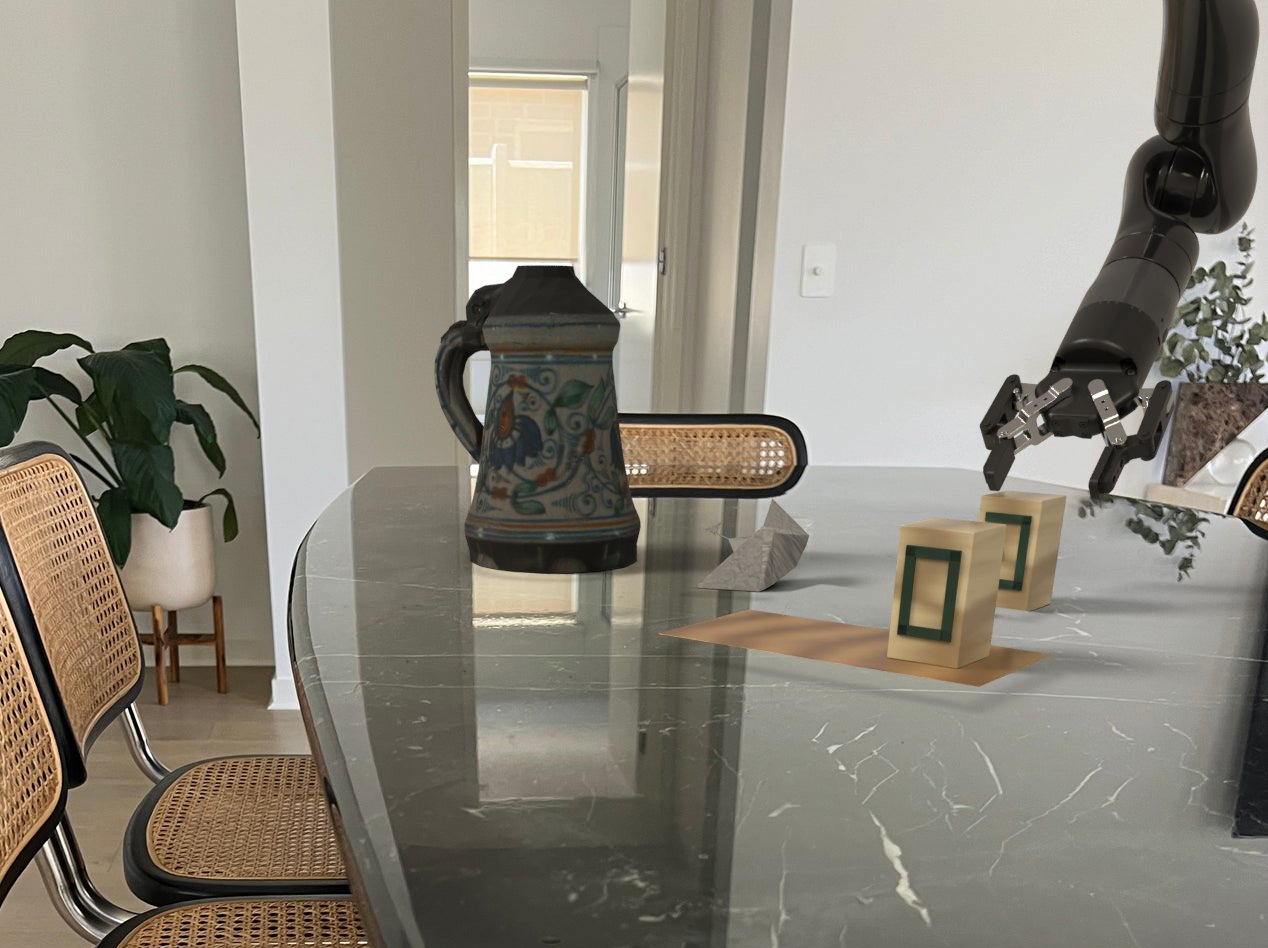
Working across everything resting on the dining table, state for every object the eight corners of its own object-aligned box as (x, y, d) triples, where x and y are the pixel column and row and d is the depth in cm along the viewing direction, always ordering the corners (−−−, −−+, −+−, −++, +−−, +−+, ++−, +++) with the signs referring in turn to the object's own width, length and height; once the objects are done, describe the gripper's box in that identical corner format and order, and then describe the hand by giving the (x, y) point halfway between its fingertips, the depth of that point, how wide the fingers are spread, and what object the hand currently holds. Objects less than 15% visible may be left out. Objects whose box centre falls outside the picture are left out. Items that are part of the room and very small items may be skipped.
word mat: (1051, 666, 98) (1053, 654, 98) (977, 699, 90) (978, 686, 90) (747, 619, 112) (748, 609, 112) (657, 644, 104) (657, 632, 103)
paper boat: (755, 585, 119) (663, 544, 123) (755, 639, 125) (667, 598, 128) (835, 494, 123) (743, 457, 127) (831, 551, 129) (744, 514, 132)
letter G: (1050, 603, 119) (1067, 495, 116) (1025, 613, 116) (1041, 501, 112) (992, 596, 122) (1006, 490, 119) (966, 605, 118) (979, 495, 115)
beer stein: (643, 575, 130) (653, 264, 120) (425, 572, 130) (417, 262, 120) (636, 547, 145) (645, 268, 135) (441, 545, 145) (435, 267, 135)
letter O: (989, 656, 97) (1007, 524, 94) (955, 669, 94) (973, 532, 90) (920, 645, 100) (935, 517, 97) (884, 658, 96) (898, 525, 93)
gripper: (1025, 297, 122) (949, 450, 119) (1201, 298, 114) (1124, 462, 111) (1041, 364, 128) (968, 512, 125) (1209, 369, 120) (1136, 528, 117)
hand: (1041, 488), depth 118 cm, fingers open, 8 cm apart
